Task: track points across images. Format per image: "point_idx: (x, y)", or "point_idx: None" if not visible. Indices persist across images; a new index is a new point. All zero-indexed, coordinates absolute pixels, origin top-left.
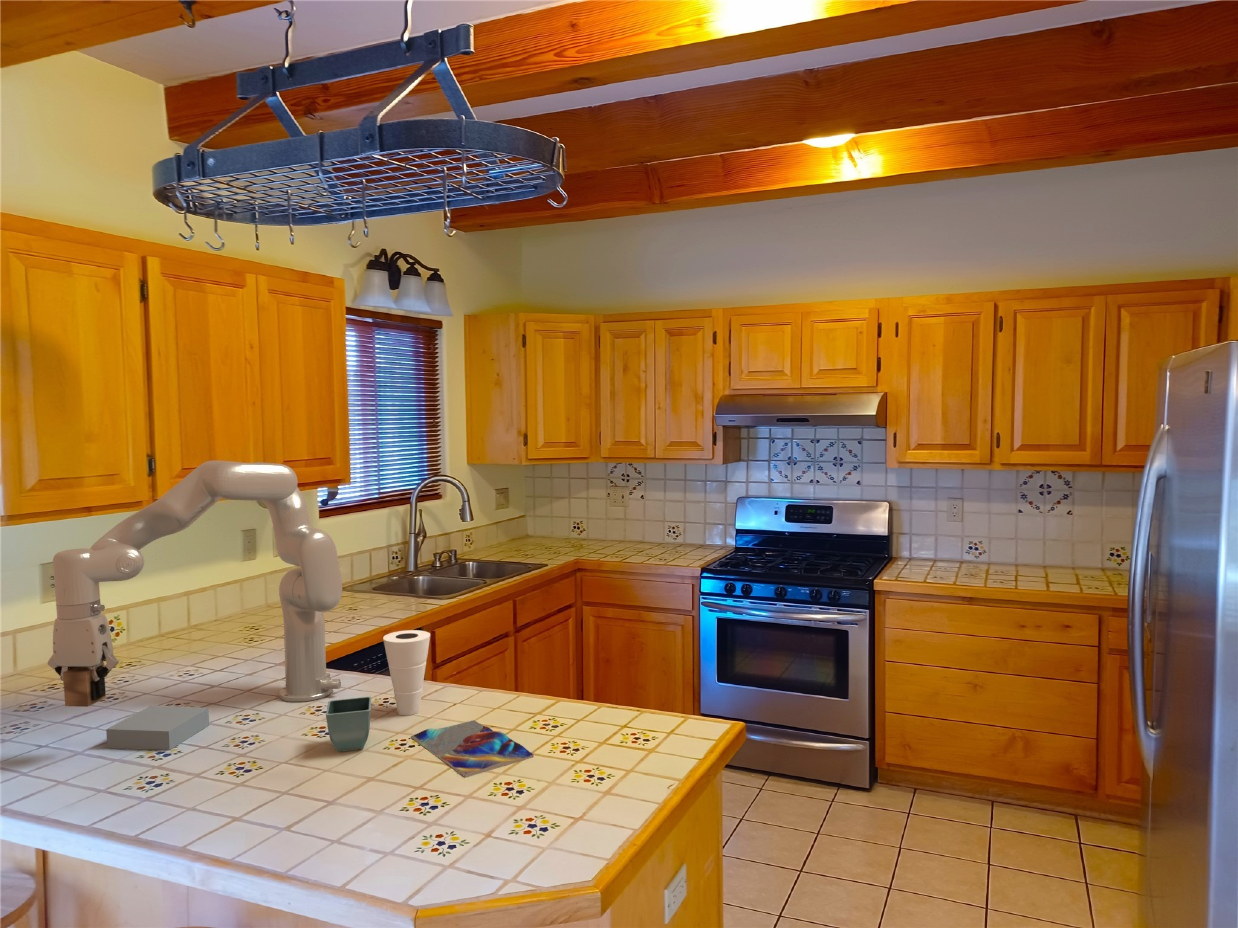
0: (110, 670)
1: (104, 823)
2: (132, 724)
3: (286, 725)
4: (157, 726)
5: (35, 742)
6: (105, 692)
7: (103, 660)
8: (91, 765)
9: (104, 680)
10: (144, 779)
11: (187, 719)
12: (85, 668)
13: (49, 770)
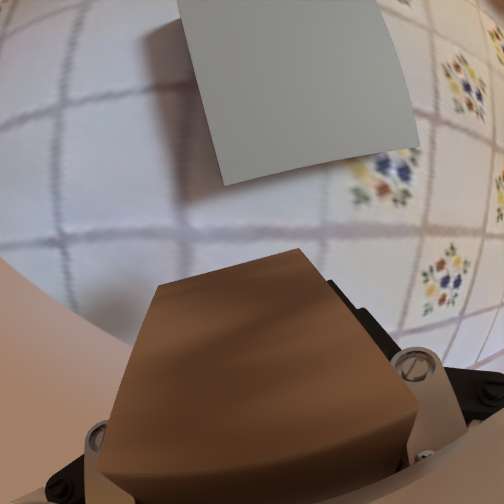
0: (489, 375)
1: None
2: (274, 122)
3: (462, 18)
4: (367, 118)
5: (29, 233)
6: (309, 261)
7: (461, 449)
8: None
9: (400, 350)
10: (433, 278)
11: (394, 58)
12: (298, 500)
13: None
